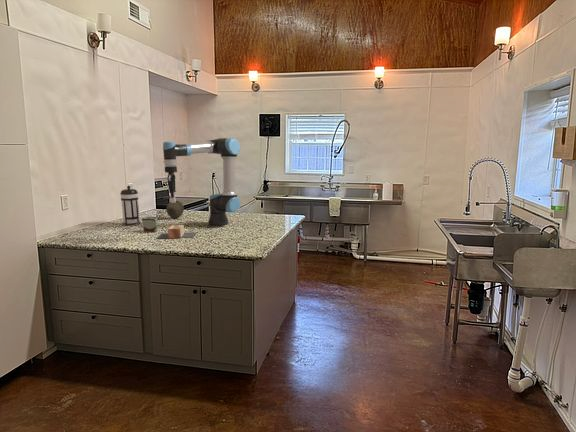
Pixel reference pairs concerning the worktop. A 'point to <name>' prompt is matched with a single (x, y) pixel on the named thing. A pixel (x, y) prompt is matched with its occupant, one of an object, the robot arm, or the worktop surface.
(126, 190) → the coffee press
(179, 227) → the maple block
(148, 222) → the food container
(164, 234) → the rubber mat
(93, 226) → the worktop surface
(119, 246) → the worktop surface
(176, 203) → the cantaloupe
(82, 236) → the worktop surface
